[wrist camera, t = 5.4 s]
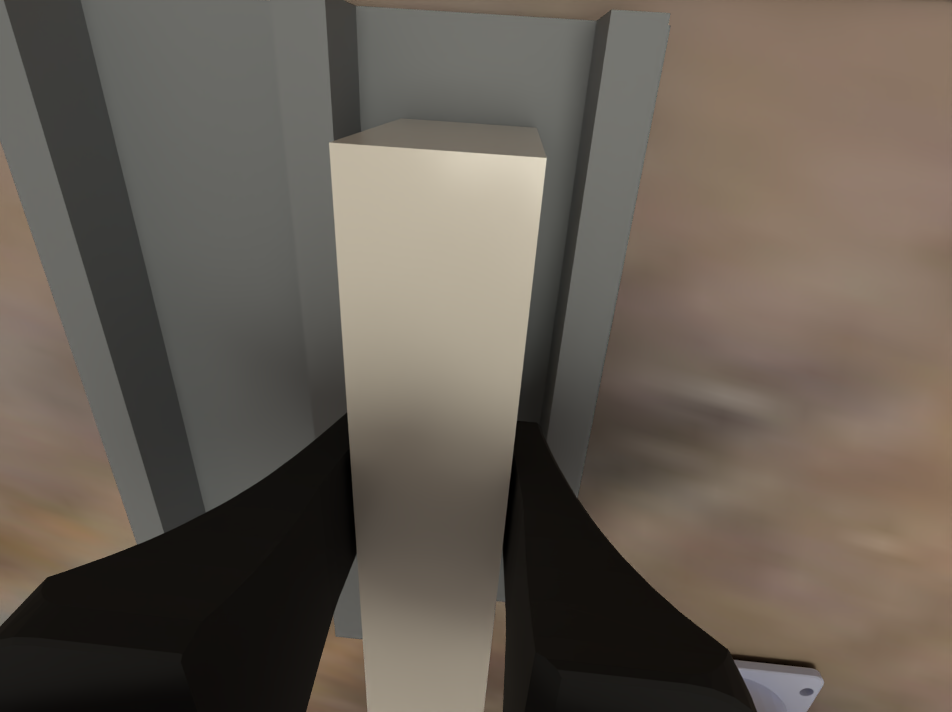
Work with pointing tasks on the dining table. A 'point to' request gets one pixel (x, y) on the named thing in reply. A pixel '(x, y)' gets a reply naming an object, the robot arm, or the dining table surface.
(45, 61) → the grooved grey tray
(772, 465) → the dining table surface
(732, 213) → the dining table surface
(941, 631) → the dining table surface
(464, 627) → the clay bar
